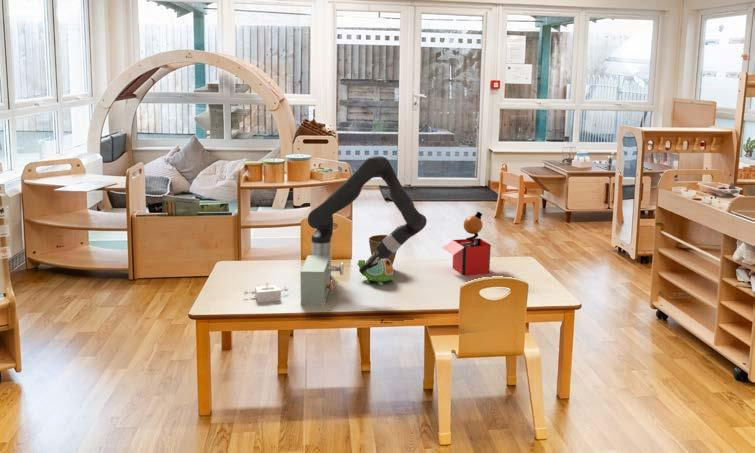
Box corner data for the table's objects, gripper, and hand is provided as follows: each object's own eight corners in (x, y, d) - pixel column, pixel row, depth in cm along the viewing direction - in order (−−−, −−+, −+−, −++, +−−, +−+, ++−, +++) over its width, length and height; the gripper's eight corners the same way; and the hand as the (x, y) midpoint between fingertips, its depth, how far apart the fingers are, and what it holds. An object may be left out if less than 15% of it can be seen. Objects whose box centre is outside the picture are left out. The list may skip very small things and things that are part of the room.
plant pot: (362, 268, 384) (362, 237, 380) (386, 263, 393) (386, 233, 389) (380, 275, 372) (380, 243, 369) (404, 270, 381) (404, 239, 377)
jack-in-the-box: (487, 264, 393) (490, 207, 386) (500, 272, 379) (503, 213, 372) (440, 268, 386) (442, 209, 379) (452, 276, 372) (454, 216, 365)
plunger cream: (313, 275, 343) (313, 263, 341) (314, 272, 348) (314, 260, 347) (342, 276, 342) (342, 264, 341) (343, 272, 348) (343, 260, 347)
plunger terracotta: (302, 293, 332) (302, 281, 331) (303, 289, 338) (303, 277, 336) (332, 294, 332) (332, 281, 331) (333, 290, 337) (333, 278, 336)
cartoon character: (285, 295, 351) (292, 299, 336) (241, 299, 345) (246, 304, 329) (284, 277, 351) (291, 281, 335) (240, 281, 344) (245, 285, 329)
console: (300, 304, 329) (300, 271, 326) (308, 286, 354) (307, 255, 351) (324, 305, 329) (323, 271, 325) (329, 286, 354) (329, 255, 351)
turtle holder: (364, 274, 373) (365, 251, 371) (397, 280, 365) (398, 256, 362) (352, 281, 363) (352, 257, 360) (385, 287, 354) (386, 262, 352)
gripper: (383, 236, 339) (355, 261, 343) (382, 243, 327) (353, 270, 330) (395, 247, 341) (367, 273, 344) (394, 256, 328) (365, 282, 331)
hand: (360, 271), depth 337 cm, fingers closed
